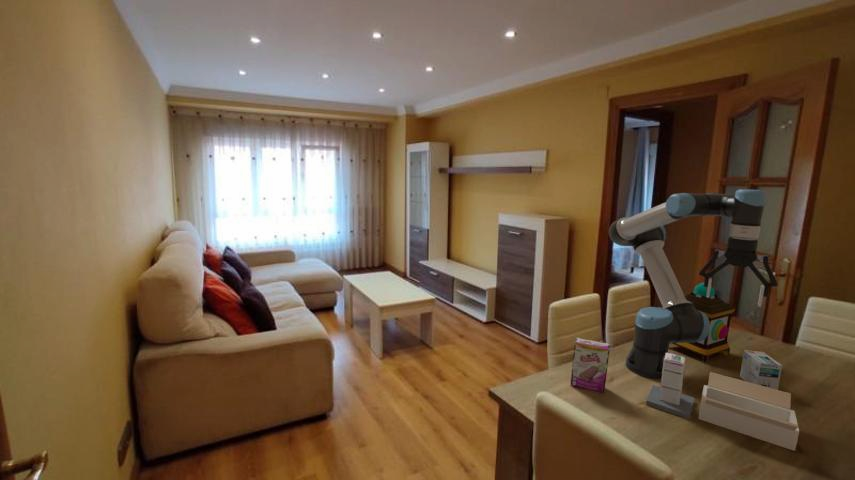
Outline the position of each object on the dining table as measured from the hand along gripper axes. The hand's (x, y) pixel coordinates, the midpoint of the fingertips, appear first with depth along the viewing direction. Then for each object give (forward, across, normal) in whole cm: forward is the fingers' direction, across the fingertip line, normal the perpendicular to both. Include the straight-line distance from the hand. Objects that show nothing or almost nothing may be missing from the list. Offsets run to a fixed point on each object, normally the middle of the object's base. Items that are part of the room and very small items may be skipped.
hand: (732, 301), depth 131 cm
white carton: (+33, +7, -17) cm, 38 cm away
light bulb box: (+33, +11, +15) cm, 38 cm away
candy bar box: (+33, -36, -26) cm, 55 cm away
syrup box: (+31, -12, -19) cm, 39 cm away
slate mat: (+33, -12, -19) cm, 40 cm away
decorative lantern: (+33, -9, +33) cm, 48 cm away
